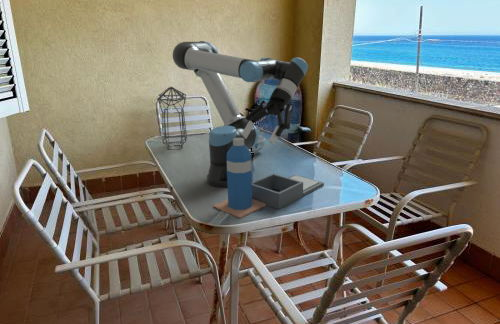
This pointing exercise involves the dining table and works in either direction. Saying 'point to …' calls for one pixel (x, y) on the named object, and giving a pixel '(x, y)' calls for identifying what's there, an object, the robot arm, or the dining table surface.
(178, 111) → the geometric lantern
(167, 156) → the dining table surface
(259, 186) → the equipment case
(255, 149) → the chinaware
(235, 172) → the water bottle
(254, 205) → the terracotta tile
